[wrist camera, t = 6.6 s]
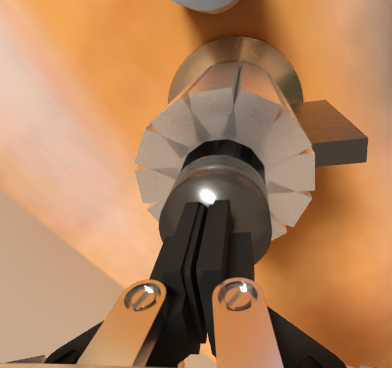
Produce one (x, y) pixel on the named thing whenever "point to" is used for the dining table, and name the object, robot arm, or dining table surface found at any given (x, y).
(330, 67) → the dining table surface
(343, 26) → the dining table surface
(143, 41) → the dining table surface
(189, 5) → the pale blue egg
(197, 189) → the plunger
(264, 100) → the cafetiere
